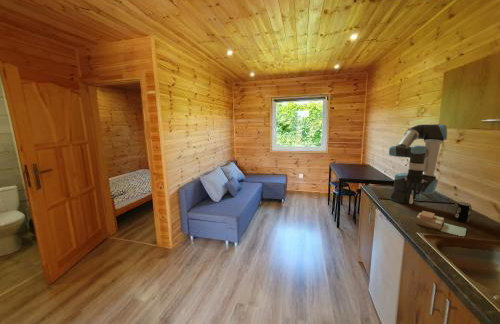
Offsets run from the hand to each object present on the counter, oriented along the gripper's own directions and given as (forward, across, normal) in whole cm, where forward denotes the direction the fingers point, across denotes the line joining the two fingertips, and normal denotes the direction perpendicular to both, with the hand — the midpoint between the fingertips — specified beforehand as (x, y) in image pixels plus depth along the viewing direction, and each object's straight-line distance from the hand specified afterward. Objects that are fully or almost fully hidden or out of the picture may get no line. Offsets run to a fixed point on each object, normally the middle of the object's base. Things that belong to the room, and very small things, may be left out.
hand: (411, 203), depth 139 cm
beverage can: (+11, +24, +21) cm, 33 cm away
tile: (+7, +9, 0) cm, 11 cm away
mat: (+11, +22, +1) cm, 25 cm away
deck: (+11, +10, +1) cm, 15 cm away
